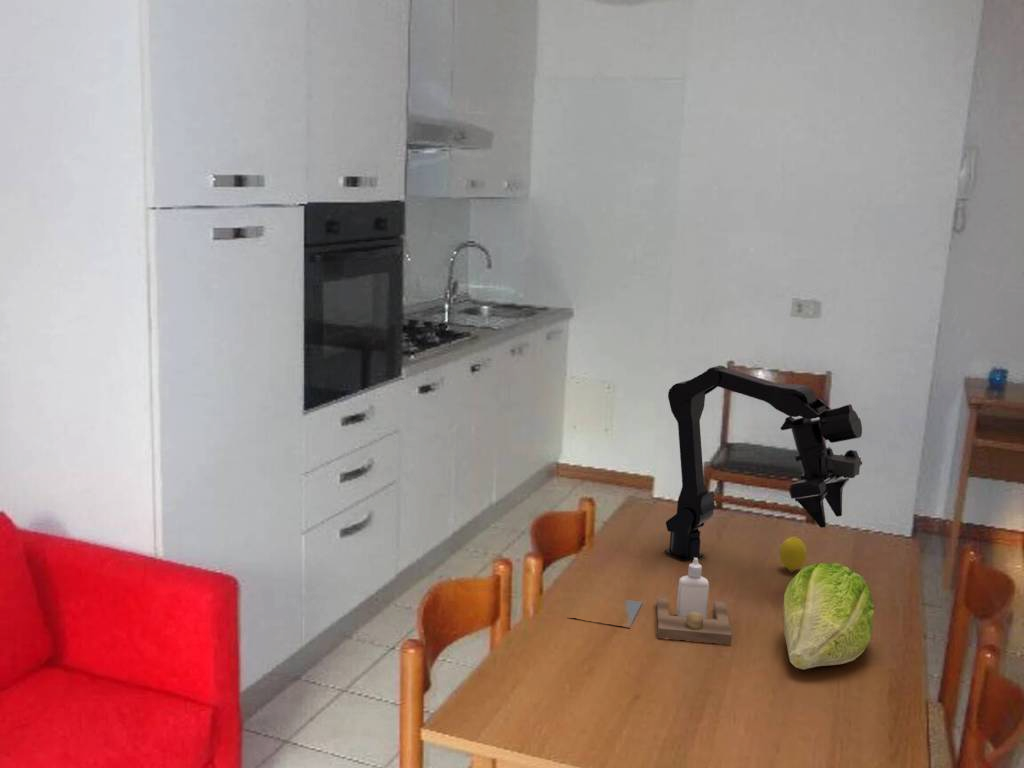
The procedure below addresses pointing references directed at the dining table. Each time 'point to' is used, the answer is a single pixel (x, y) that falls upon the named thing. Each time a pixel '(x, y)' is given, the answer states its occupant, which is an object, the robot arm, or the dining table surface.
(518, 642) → the dining table surface
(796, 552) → the lemon
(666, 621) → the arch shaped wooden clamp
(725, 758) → the dining table surface
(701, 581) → the eye dropper bottle
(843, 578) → the lettuce
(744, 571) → the dining table surface
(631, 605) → the slate mat
